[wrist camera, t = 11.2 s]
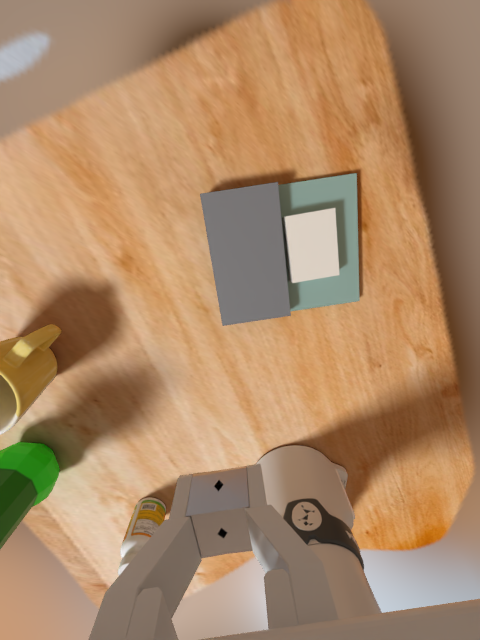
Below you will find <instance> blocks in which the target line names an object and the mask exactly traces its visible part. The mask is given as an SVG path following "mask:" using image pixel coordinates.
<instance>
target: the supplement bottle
mask: <svg viewBox="0 0 480 640" xmlns="http://www.w3.org/2000/svg"><path fill="white" fill-rule="evenodd" d="M165 514H166V507H165V505H164V503H163V502H162V501H160V500H159V499H156V498H151V497H149V498H144V499H142V500H140V501H139V502H138V503H137V504H136V506H135V509H134V512H133V515H132V517H131V520H130V523H129V526H128V529H127V532H126V534H125V537H124V540H123V543H122V546H121V550H120V553H121V557H122V560H121V562H120V566H119V569H118V575H120V574H121V573H122V572H123V571H124V569H125V568H126V567H127V566H128V564H129V563H130V562H131V561H132V559H133V558H134V557H135V556H136V555H137V553H138V552H139V551H140V550H141V548H142V547H143V546H144V545H145V544H146V542H147V541H148V540H149V539H150V537H151V536H152V535H153V534H154V532H155V531H156V530H157V529H158V528H159V526H160V525H161V524H162V523H163V521H164V519H165Z"/></svg>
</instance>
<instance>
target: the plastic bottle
mask: <svg viewBox="0 0 480 640" xmlns="http://www.w3.org/2000/svg"><path fill="white" fill-rule="evenodd" d="M59 471H60V469H59V465H58V462H57V460H56V457H55V455H54V453H53V450H52V449H50V448H49V447H47V446H46V445H44V444H40V443H27V442H18V443H16V444H14V445H12V446H9V447H7V448H5V449H3V450H1V451H0V549H1V548H2V546H3V545H4V544H5V542H6V541H7V539H8V538H9V537H10V536H11V534H12V533H13V532H14V530H15V529H16V528H17V526H18V525H19V524H20V522H21V521H22V519H23V518H24V517H25V515H26V514H27V513H28V511H29V510H30V509H31V507H33V506H35V505H36V504H38V503H40V502H41V501H43V500H44V499H45V498H47V497H48V495H49V494H50V492H51V491H52V489H53V487H54V485H55V482H56V480H57V478H58V475H59Z"/></svg>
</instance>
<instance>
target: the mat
mask: <svg viewBox="0 0 480 640" xmlns="http://www.w3.org/2000/svg"><path fill="white" fill-rule="evenodd" d="M278 189H279V199H280V210H281V220H282V218H283V217H286V216H291V215H297V214H303V213H308V212H314V211H320V210H325V209H331V208H335V212H336V227H337V243H338V259H339V275H337V276H331V277H325V278H319V279H314V280H308V281H302V282H296V283H292V282H290V281H289V275H288V266H287V257H286V249H285V240H284V232H283V241H284V251H285V262H286V272H287V282H288V293H289V303H290V311H296V310H302V309H309V308H316V307H322V306H329V305H336V304H342V303H349V302H356V301H359V258H358V211H357V173H354V174H347V175H340V176H334V177H327V178H321V179H314V180H308V181H301V182H295V183H288V184H282V185H278ZM282 230H283V223H282Z"/></svg>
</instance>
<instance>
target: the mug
mask: <svg viewBox="0 0 480 640" xmlns="http://www.w3.org/2000/svg"><path fill="white" fill-rule="evenodd" d="M61 332H62V331H61V329H60V328H59V327H57V326H56V325H53V324H50V325H47V326H45V327H42V328H40V329H38V330H36V331H34V332H32V333H30V334H28V335H26V336H25V337H15V338H11V339H8V340H4V341H1V342H0V434H3V433H5V432H6V431H8V430H9V429H11V428H12V427H13V426H14V425H15V424H16V423H17V422H18V421H19V419H20V418H21V417H22V416H23V415H24V414H25V413H26V411H27V410H28V409H29V408H30V407H31V405H32V404H33V403H34V402H35V401H36V399H37V398H38V397H39V396H40V395H41V393H42V392H43V391H44V390H45V389H46V388H47V386H48V385H49V384H50V383H51V382H52V381H53V379H54V378H55V376H56V373H57V361H56V358H55V356H54V354H53V352H52V351H51V349H50V348H49V346H50V345H51V344H52V343H53V342H54V341H55V340H56V339H57V337H58V336H59V335H60V334H61Z"/></svg>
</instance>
